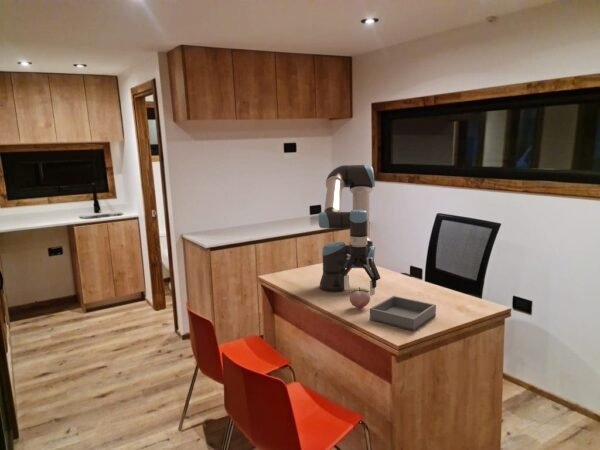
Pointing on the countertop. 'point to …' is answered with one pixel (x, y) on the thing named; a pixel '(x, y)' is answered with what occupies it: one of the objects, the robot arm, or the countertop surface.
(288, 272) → the countertop surface
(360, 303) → the decorative fruit
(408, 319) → the bin
